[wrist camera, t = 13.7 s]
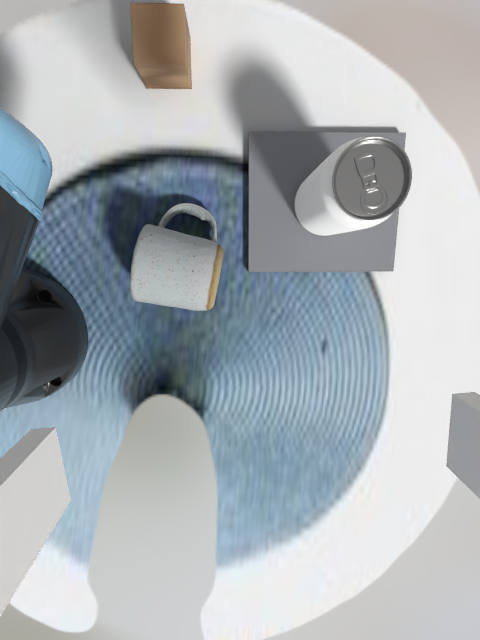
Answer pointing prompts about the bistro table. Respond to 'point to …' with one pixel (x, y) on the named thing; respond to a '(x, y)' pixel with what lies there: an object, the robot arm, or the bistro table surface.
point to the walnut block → (161, 45)
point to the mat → (280, 218)
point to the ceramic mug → (176, 264)
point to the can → (354, 187)
